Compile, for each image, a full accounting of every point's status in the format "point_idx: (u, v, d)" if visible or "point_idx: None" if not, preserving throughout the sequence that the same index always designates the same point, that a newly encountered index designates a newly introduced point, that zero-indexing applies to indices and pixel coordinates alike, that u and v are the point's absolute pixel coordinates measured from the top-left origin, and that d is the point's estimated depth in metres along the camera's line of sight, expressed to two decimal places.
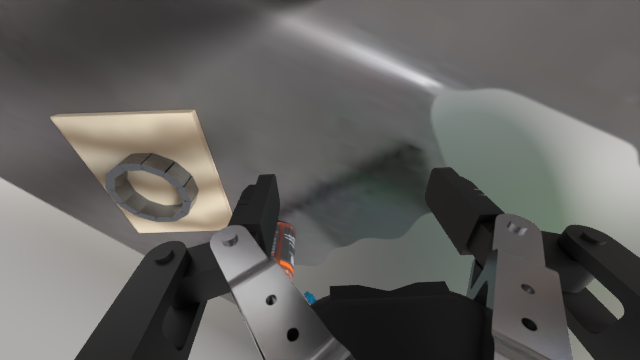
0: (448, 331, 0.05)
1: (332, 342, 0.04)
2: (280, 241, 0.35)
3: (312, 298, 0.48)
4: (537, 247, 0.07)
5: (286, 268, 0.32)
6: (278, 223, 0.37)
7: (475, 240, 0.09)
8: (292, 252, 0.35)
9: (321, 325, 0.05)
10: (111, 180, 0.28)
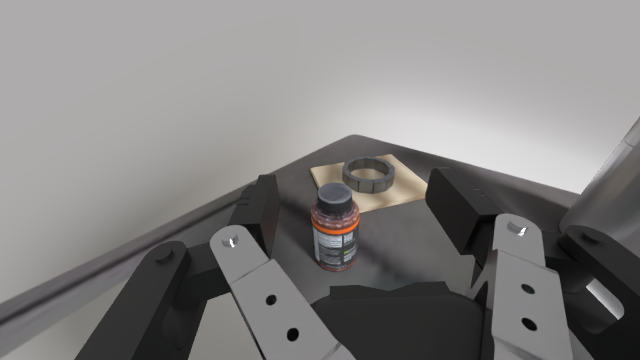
0: (448, 331, 0.05)
1: (332, 342, 0.04)
2: None
3: None
4: (537, 247, 0.07)
5: (356, 220, 0.26)
6: None
7: (475, 240, 0.09)
8: (350, 244, 0.27)
9: (321, 325, 0.05)
10: (372, 158, 0.48)
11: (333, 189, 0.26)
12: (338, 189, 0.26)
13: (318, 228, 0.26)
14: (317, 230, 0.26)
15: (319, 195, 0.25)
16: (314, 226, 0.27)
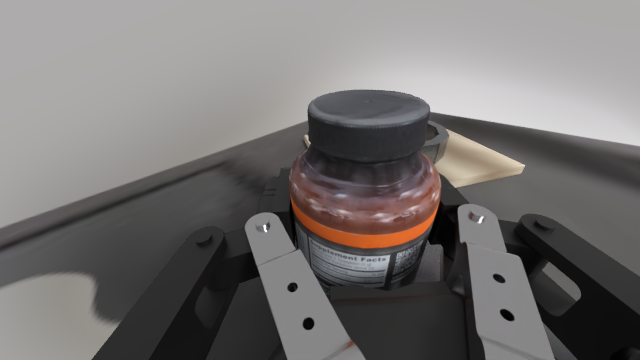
0: (448, 331, 0.05)
1: (345, 339, 0.04)
2: None
3: None
4: (491, 233, 0.07)
5: (438, 201, 0.08)
6: None
7: (442, 230, 0.09)
8: (407, 276, 0.09)
9: (337, 321, 0.05)
10: None
11: (361, 98, 0.08)
12: (377, 98, 0.08)
13: (311, 227, 0.08)
14: (306, 233, 0.08)
15: (314, 109, 0.07)
16: (298, 221, 0.08)
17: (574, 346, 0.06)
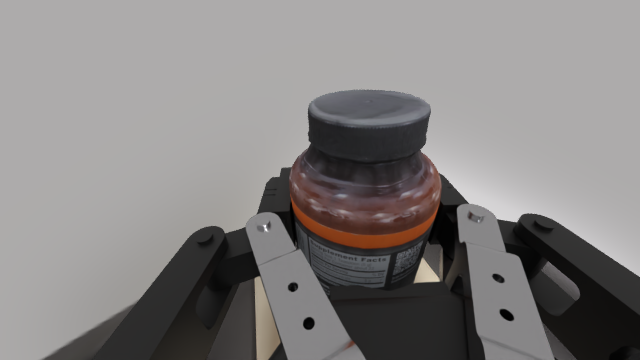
0: (448, 331, 0.05)
1: (345, 339, 0.04)
2: None
3: None
4: (490, 233, 0.07)
5: (438, 201, 0.08)
6: None
7: (441, 229, 0.09)
8: (408, 277, 0.09)
9: (337, 321, 0.05)
10: None
11: (361, 98, 0.08)
12: (378, 98, 0.08)
13: (311, 227, 0.08)
14: (307, 233, 0.08)
15: (314, 109, 0.07)
16: (298, 221, 0.08)
17: (573, 345, 0.06)
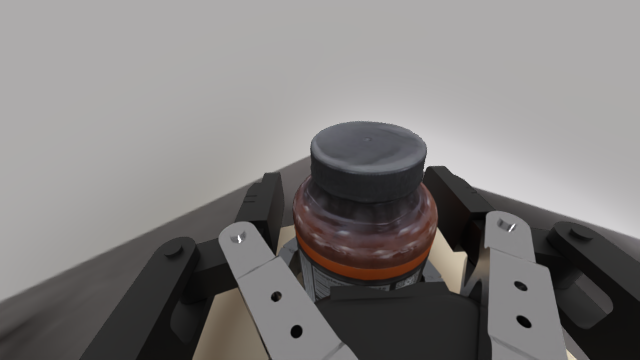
0: (448, 331, 0.05)
1: (335, 341, 0.04)
2: None
3: None
4: (525, 243, 0.07)
5: (435, 232, 0.08)
6: None
7: (467, 237, 0.09)
8: None
9: (325, 324, 0.05)
10: None
11: (361, 135, 0.08)
12: (377, 134, 0.08)
13: (315, 258, 0.08)
14: (310, 262, 0.09)
15: (316, 150, 0.07)
16: (302, 250, 0.09)
17: None
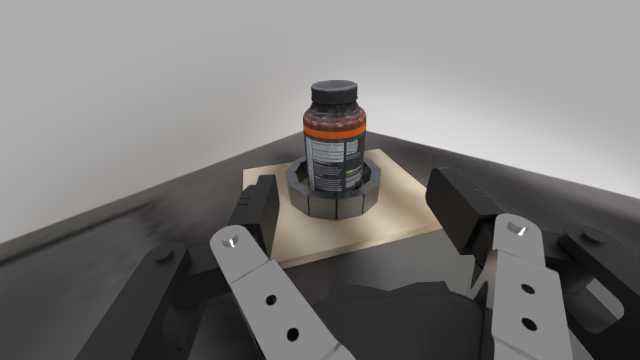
0: (448, 331, 0.05)
1: (332, 342, 0.04)
2: None
3: None
4: (537, 247, 0.07)
5: (363, 123, 0.20)
6: None
7: (475, 240, 0.09)
8: (354, 159, 0.21)
9: (321, 325, 0.05)
10: None
11: (332, 83, 0.20)
12: (339, 82, 0.20)
13: (313, 134, 0.20)
14: (311, 138, 0.20)
15: (313, 86, 0.19)
16: (307, 135, 0.20)
17: None
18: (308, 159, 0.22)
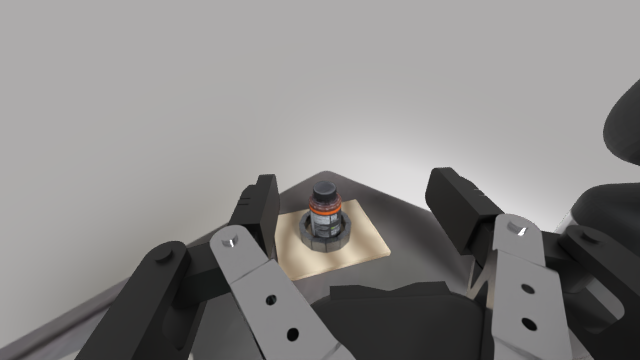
0: (448, 331, 0.05)
1: (332, 342, 0.04)
2: None
3: None
4: (537, 247, 0.07)
5: (339, 206, 0.39)
6: None
7: (475, 240, 0.09)
8: (335, 222, 0.40)
9: (321, 325, 0.05)
10: None
11: (323, 185, 0.39)
12: (327, 185, 0.39)
13: (314, 211, 0.39)
14: (313, 212, 0.40)
15: (314, 189, 0.39)
16: (311, 210, 0.40)
17: None
18: (311, 220, 0.42)
